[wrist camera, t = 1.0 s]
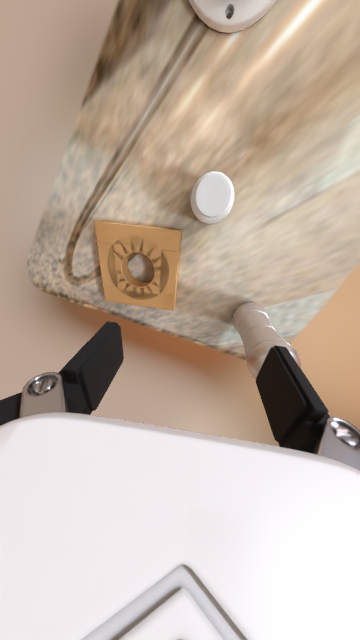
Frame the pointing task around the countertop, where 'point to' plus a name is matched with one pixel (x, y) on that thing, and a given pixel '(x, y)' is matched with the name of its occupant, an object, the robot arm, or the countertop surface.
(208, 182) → the supplement bottle
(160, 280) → the socket pad
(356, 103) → the countertop surface
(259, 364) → the plastic bottle
